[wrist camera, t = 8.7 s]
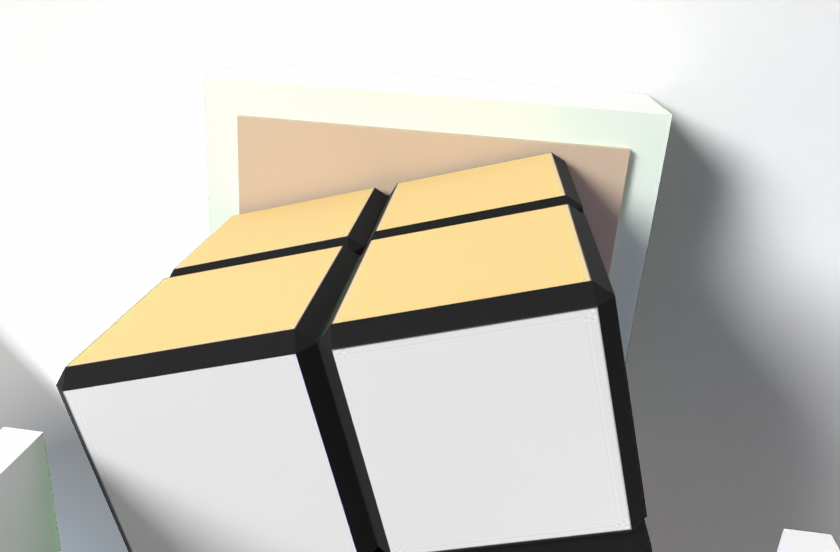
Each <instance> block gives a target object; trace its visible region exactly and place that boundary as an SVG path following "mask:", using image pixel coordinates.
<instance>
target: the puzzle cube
mask: <svg viewBox="0 0 840 552" xmlns="http://www.w3.org/2000/svg"><path fill="white" fill-rule="evenodd" d="M56 386H57V388H58V390H59V393H60V395H61V397H62V400H63V402H64V404H65V407H66V409H67V411H68V413H69V416H70V418H71V420H72V423H73V425H74V427H75V430H76V432H77V434H78V436H79V439H80V441H81V443H82V446H83V448H84V450H85V453H86V455H87V457H88V459H89V462H90V464H91V466H92V469H93V471H94V473H95V475H96V478H97V480H98V483H99V485H100V487H101V489H102V492H103V494H104V496H105V498H106V501H107V503H108V505H109V508H110V510H111V512H112V514H113V517H114V519H115V522H116V524H117V526H118V529H119V531H120V533H121V535H122V538H123V540H124V542H125V545H126V547H127V549H128V552H652V548H651V543H650V539H649V535H648V532H647V528H646V524H645V520H644V518H645V517H646V516H647V513H646V506H645V500H644V493H643V486H642V479H641V472H640V465H639V458H638V451H637V444H636V437H635V430H634V423H633V416H632V409H631V402H630V395H629V388H628V381H627V375H626V368H625V361H624V354H623V347H622V340H621V333H620V326H619V319H618V312H617V305H616V298H615V294H614V291H613V288H612V286H611V283H610V280H609V277H608V275H607V272H606V269H605V267H604V264H603V261H602V258H601V256H600V253H599V250H598V248H597V245H596V242H595V239H594V237H593V234H592V231H591V228H590V226H589V223H588V220H587V218H586V215H584V212H583V206H582V203H581V201H580V198H579V195H578V193H577V190H576V188H575V185H574V183H573V180H572V177H571V175H570V172H569V170H568V167H567V165H566V162H565V161H564V160H563V159H561V158H560V157H558V156H556V155H555V154H553V153H552V152H551V153H546V154H541V155H536V156H531V157H526V158H521V159H516V160H511V161H506V162H501V163H496V164H491V165H486V166H481V167H476V168H471V169H466V170H461V171H456V172H451V173H446V174H441V175H436V176H431V177H426V178H421V179H416V180H411V181H406V182H401V183H397V185H396V186H395V188H394V189H393V191H392V192H391V194H390V195H389V197H388V196H387V195H386V194H384V193H383V192H381V191H380V190H378V189H376V188H370V189H365V190H360V191H355V192H350V193H345V194H340V195H335V196H330V197H325V198H320V199H315V200H310V201H305V202H300V203H295V204H290V205H285V206H280V207H275V208H270V209H265V210H260V211H255V212H250V213H245V214H240V215H235V216H231V217H230V218H229V219H228V220H227V221H226V222H225V223H224V224H223V225H222V226H220V227H219V228H218V229H217V230H216V231H215V232H214V233H213V234H212V235H211V236H210V237H209V238H207V239H206V240H205V241H204V242H203V243H202V244H201V245H200V246H199V247H198V248H197V249H195V250H194V251H193V252H192V253H191V254H190V255H189V256H188V257H187V258H186V259H185V260H183V261H182V262H181V263H180V264H179V265H178V266H177V267H176V268H175V269H174V270H173V272H172V274H171V276H170V278H165V279H163V280H162V281H161V282H160V283H159V284H158V285H157V286H156V287H154V288H153V289H152V290H151V291H150V292H149V293H148V294H147V295H146V296H144V297H143V298H142V299H141V300H140V301H139V302H138V303H137V304H135V305H134V306H133V307H132V308H131V309H130V310H129V311H128V312H127V313H125V314H124V315H123V316H122V317H121V318H120V319H119V320H118V321H117V322H115V323H114V324H113V325H112V326H111V327H110V328H109V329H108V330H107V331H105V332H104V333H103V334H102V335H101V336H100V337H99V338H98V339H96V340H95V341H94V342H93V343H92V344H91V345H90V346H89V347H88V348H86V349H85V350H84V351H83V352H82V353H81V354H80V355H79V356H78V357H76V358H75V359H74V360H73V361H72V362H71V363H70V364H69V365H67V366H66V367H65V369H64V371H63V373H62V375H61V377H60V379H59V381H58V383H57V385H56Z"/></svg>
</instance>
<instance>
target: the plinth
mask: <svg viewBox="0 0 840 552" xmlns="http://www.w3.org/2000/svg"><path fill="white" fill-rule="evenodd" d="M204 83H205V109H206V135H207V161H208V187H209V213H210V236H211V235H212V234H213V233H214V232H215V231H216V230H217V229H218V228H219V227H220V226H222V225H223V224H224V223H225V222H226V221H227V220H228V219H229V218H230V217H231V216H235V215H240V214H245V213H250V212H255V211H260V210H265V209H270V208H275V207H280V206H285V205H290V204H295V203H300V202H305V201H310V200H315V199H320V198H325V197H330V196H335V195H340V194H345V193H350V192H355V191H360V190H365V189H370V188H376V189H378V190H380V191H381V192H383V193H384V194H386V195H387V196H388V197H389V195H390V194H391V192H392V191H393V189H394V188H395V186H396V185H397V183H401V182H406V181H411V180H416V179H421V178H426V177H431V176H436V175H441V174H446V173H451V172H456V171H461V170H466V169H471V168H476V167H481V166H486V165H491V164H496V163H501V162H506V161H511V160H516V159H521V158H526V157H531V156H536V155H541V154H546V153H551V152H552V153H553V154H555V155H556V156H558V157H560V158H561V159H563V160H564V161H565V162H566V165H567V167H568V170H569V172H570V175H571V177H572V180H573V183H574V185H575V188H576V190H577V193H578V195H579V198H580V201H581V203H582V206H583V212H584V215H586V218H587V220H588V223H589V226H590V228H591V231H592V234H593V237H594V239H595V242H596V245H597V248H598V250H599V253H600V256H601V258H602V261H603V264H604V267H605V269H606V272H607V275H608V277H609V280H610V283H611V286H612V288H613V291H614V294H615V298H616V305H617V312H618V319H619V326H620V333H621V340H622V347H623V354H624V361H625V363H626V358H627V352H628V347H629V342H630V337H631V331H632V326H633V321H634V315H635V310H636V305H637V300H638V294H639V289H640V284H641V278H642V273H643V268H644V263H645V257H646V252H647V247H648V242H649V236H650V231H651V226H652V220H653V215H654V210H655V205H656V199H657V194H658V189H659V183H660V178H661V173H662V168H663V162H664V157H665V152H666V146H667V141H668V136H669V131H670V125H671V120H672V114H671V113H669V112H668V111H667V110H666V109H664V108H663V107H662V106H661V105H659V104H658V103H657V102H656V101H654V100H653V99H652V98H651V97H649V96H648V95H647V94H644V93H632V92H619V91H607V90H594V89H582V88H569V87H557V86H545V85H532V84H520V83H507V82H495V81H483V80H470V79H458V78H445V77H433V76H420V75H408V74H396V73H383V72H371V71H358V70H346V69H334V68H321V67H309V66H296V65H284V64H271V63H259V62H245V63H242V64H239V65H236V66H233V67H230V68H227V69H225V70H222V71H219V72H216V73H213V74H210V75H207V76H204Z"/></svg>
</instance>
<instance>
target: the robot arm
mask: <svg viewBox="0 0 840 552" xmlns="http://www.w3.org/2000/svg"><path fill="white" fill-rule="evenodd" d="M60 550H61V549H60V542H59V535H58V528H57V522H56V515H55V508H54V502H53V494H52V488H51V481H50V474H49V467H48V461H47V454H46V447H45V440H44V433H43V432H39V431H31V430H23V429H15V428H9V427H3V428H2V429H1V430H0V552H60ZM777 552H840V550H839V548H838V546H837V544H836V542H835V541H834V539H833V537H832V535H830V534H822V533H815V532H807V531H799V530H792V529H784V530H783V533H782V536H781V540H780V543H779V546H778V549H777Z"/></svg>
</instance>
